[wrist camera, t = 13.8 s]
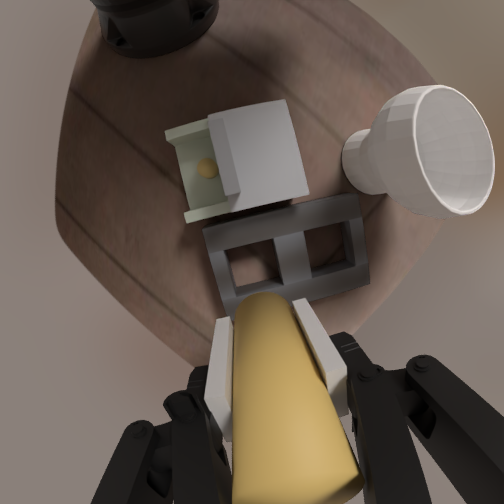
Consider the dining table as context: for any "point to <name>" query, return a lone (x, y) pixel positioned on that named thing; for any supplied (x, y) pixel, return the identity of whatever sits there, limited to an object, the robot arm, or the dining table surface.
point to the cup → (424, 153)
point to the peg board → (292, 250)
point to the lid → (257, 154)
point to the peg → (284, 415)
